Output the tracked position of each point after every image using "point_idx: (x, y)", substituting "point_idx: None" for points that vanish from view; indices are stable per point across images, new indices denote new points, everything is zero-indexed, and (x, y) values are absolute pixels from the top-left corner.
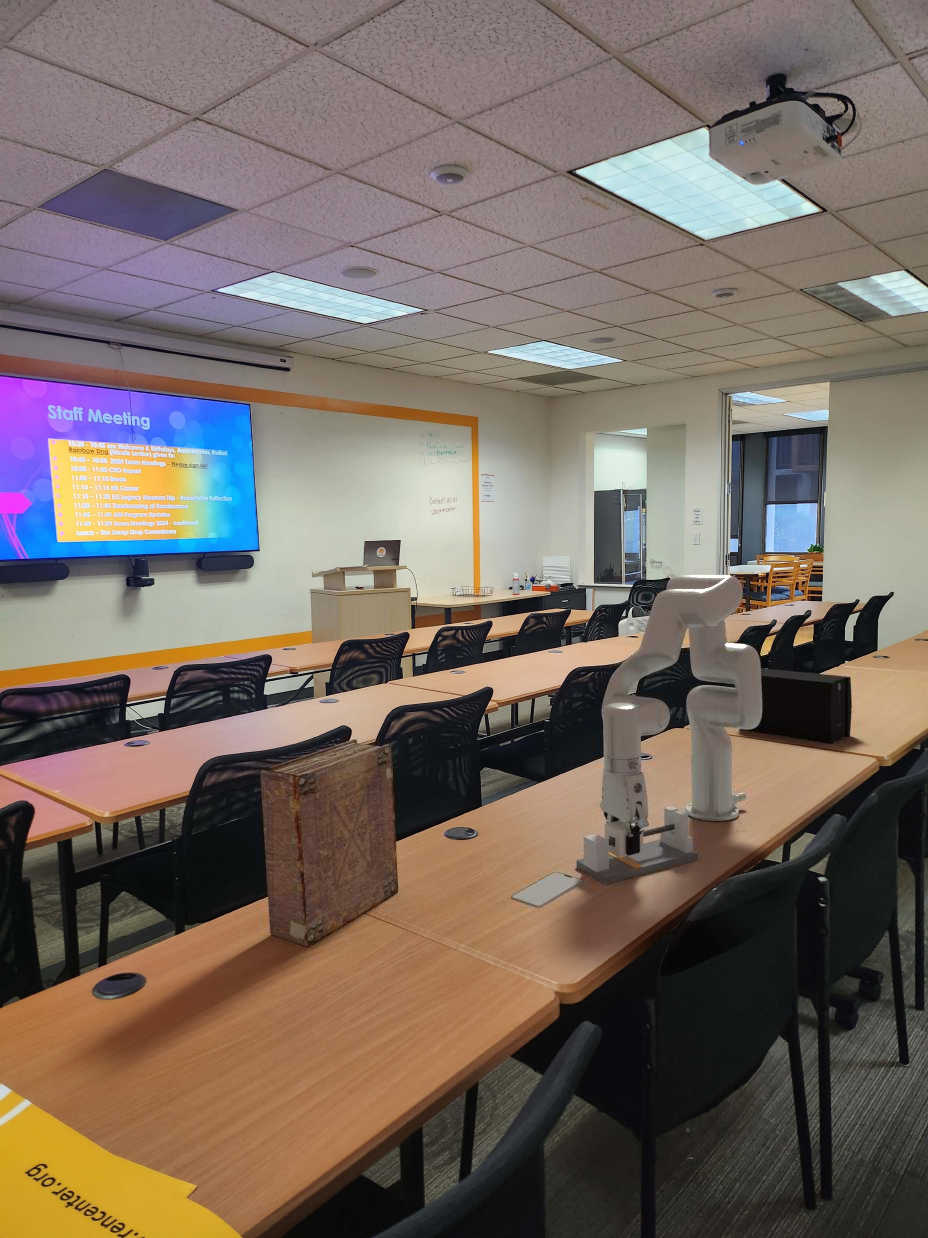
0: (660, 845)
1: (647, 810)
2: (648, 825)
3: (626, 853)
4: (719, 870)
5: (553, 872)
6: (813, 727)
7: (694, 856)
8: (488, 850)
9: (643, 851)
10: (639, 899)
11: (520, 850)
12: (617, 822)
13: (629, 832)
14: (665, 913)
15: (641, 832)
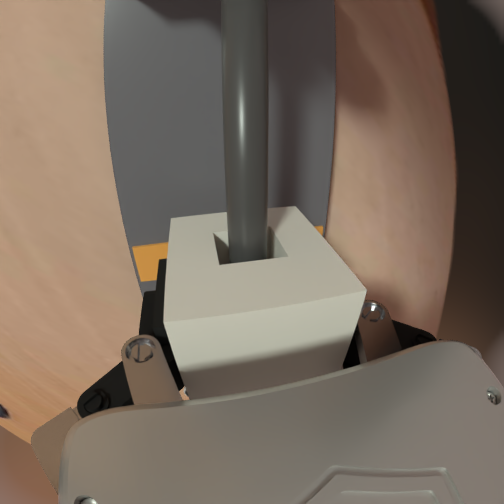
0: (169, 14)
1: (498, 389)
2: (474, 350)
3: None
4: (410, 3)
5: (186, 394)
6: None
7: None
8: (47, 413)
9: (190, 127)
10: (394, 295)
11: (44, 387)
12: (212, 392)
13: (352, 366)
14: (446, 279)
15: (399, 323)
